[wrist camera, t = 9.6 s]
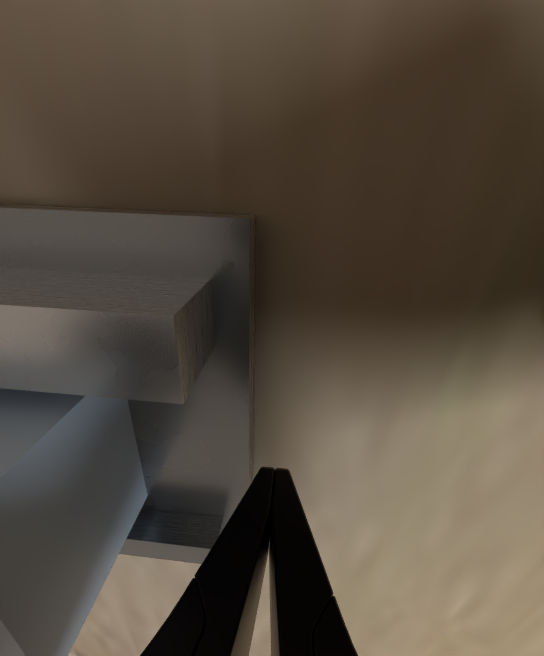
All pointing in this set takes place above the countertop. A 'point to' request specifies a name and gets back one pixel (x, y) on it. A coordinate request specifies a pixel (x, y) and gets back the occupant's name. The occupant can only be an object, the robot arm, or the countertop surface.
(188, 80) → the countertop surface
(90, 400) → the block
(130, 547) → the rail plate
